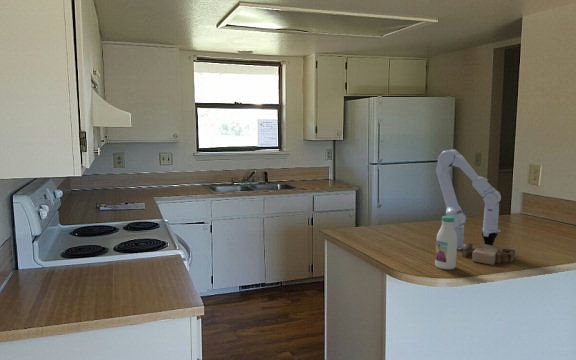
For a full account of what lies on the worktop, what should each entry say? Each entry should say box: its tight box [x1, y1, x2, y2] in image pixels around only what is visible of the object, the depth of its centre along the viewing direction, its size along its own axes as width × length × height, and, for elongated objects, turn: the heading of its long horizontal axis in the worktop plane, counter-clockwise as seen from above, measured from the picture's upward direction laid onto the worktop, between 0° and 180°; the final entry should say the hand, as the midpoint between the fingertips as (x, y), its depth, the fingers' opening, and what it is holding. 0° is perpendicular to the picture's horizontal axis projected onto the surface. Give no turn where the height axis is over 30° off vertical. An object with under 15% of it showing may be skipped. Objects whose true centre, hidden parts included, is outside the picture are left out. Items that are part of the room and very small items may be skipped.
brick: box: [471, 243, 501, 266], centre depth 185 cm, size 17×8×5 cm, turn 147°
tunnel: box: [461, 243, 516, 264], centre depth 186 cm, size 18×11×4 cm, turn 52°
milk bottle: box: [434, 215, 458, 270], centre depth 173 cm, size 8×8×20 cm
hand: (488, 249), depth 193 cm, fingers closed
